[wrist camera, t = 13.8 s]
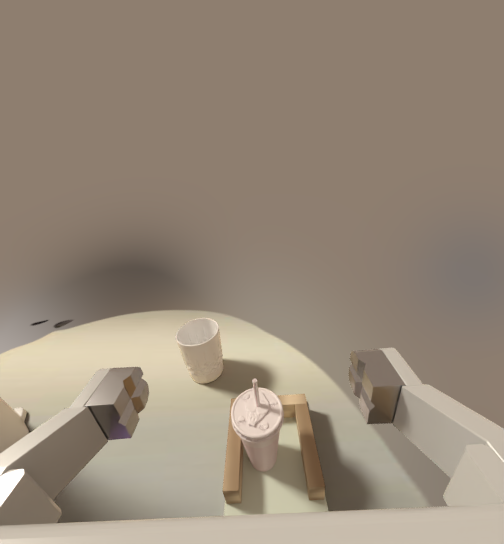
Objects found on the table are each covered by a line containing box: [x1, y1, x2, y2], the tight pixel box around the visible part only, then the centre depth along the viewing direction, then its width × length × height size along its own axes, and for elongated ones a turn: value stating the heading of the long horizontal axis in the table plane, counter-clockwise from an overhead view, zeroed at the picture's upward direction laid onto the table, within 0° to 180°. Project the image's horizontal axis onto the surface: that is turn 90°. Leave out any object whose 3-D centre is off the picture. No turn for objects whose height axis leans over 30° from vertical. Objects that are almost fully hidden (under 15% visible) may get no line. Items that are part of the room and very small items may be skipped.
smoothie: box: [231, 378, 284, 472], centre depth 29 cm, size 6×6×14 cm
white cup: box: [176, 318, 224, 384], centre depth 46 cm, size 8×8×10 cm
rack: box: [223, 394, 325, 504], centre depth 33 cm, size 12×12×3 cm
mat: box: [224, 417, 328, 516], centre depth 33 cm, size 12×16×1 cm
